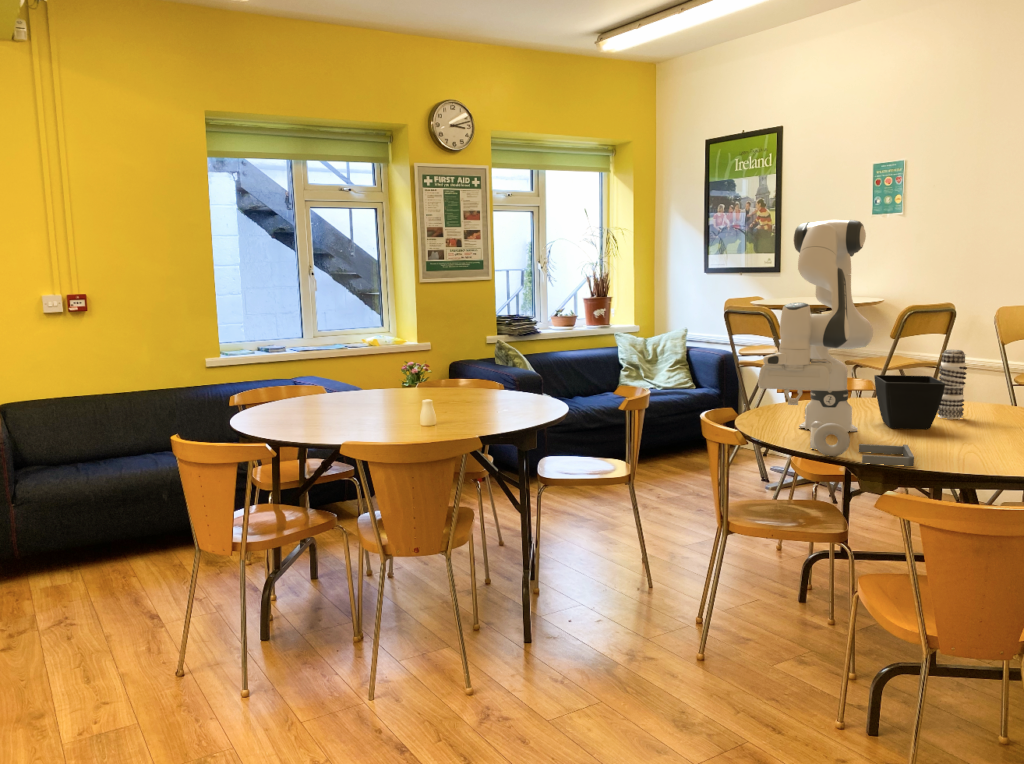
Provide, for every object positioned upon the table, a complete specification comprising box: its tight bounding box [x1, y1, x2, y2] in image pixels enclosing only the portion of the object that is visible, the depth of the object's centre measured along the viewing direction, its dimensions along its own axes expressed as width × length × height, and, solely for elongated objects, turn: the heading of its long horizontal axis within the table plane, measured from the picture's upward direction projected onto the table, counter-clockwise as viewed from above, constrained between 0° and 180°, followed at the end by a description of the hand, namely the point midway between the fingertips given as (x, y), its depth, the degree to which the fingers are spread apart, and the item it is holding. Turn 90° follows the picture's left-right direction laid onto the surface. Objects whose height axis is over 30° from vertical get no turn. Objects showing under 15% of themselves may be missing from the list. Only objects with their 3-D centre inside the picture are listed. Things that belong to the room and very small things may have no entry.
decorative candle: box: [937, 349, 968, 420], centre depth 306 cm, size 9×9×25 cm
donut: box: [814, 423, 851, 457], centre depth 245 cm, size 10×4×10 cm, turn 65°
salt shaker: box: [809, 421, 823, 449], centre depth 255 cm, size 4×4×9 cm
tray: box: [858, 443, 915, 466], centre depth 240 cm, size 17×13×3 cm
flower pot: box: [874, 374, 945, 430], centre depth 291 cm, size 19×19×17 cm
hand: (792, 404), depth 247 cm, fingers closed
